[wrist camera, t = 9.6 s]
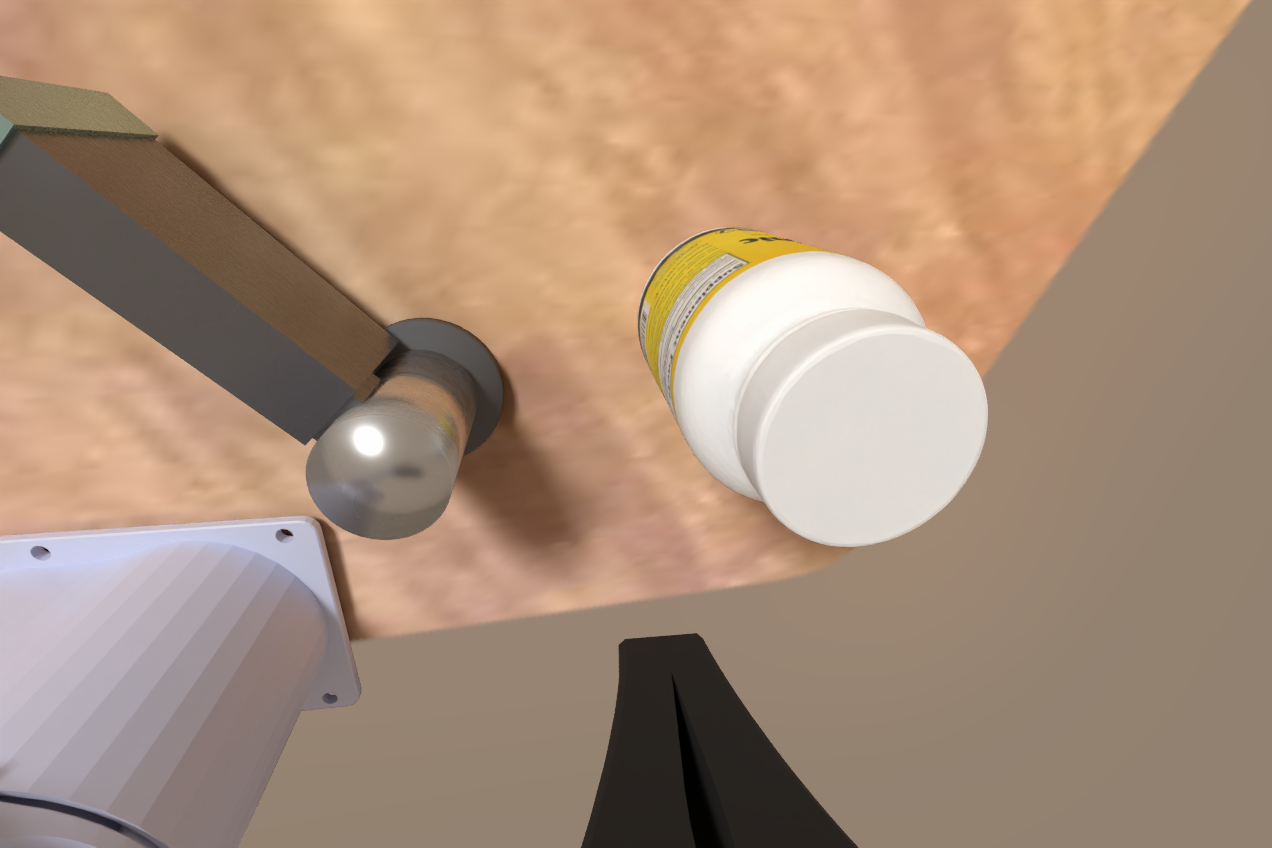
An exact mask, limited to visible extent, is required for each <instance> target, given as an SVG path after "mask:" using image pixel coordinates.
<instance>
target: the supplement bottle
mask: <svg viewBox="0 0 1272 848" xmlns="http://www.w3.org/2000/svg"><path fill="white" fill-rule="evenodd" d="M637 329H638V336H639V341H640V345H641V348H642V351H643V354H644V357H645V359H646V361H647V364H648V366H649V368H650V370H651V372H652V374H653V376H654V378H655V380H656V382H657V384H658V386H659V387H660V390H661V392H662V394H663V395H664V397H665V400H666V401H667V403H668V405H669V407H670V409H671V412H672V414H673V415H674V418H675V420H676V422H677V424H678V426H679V428H680V430H681V432H682V434H683V436H684V438H685V440H686V442H687V444H688V445H689V447H690V448H691V450H692V452H693V453H694V455H695V456H696V458H697V459H698V460H699V461H700V463H701V464H702V465H703V467H704V468H705V469H706V470H707V471H708V472H709V473H710V474H711V475H712V476H713V477H714V478H715V479H717V480H718V481H719V482H721V483H722V484H723V485H725V486H726V487H728V488H730V489H731V490H733V491H735V492H737V493H739V494H741V495H743V496H746V497H748V498H751V499H753V500H758V501H762V502H764V503H765V505H766V506H767V507H768V509H769V510H770V512H771V513H772V514H773V515H774V516H775V517H776V518H777V520H779V521H780V522H781V523H782V524H783V525H784V526H786V527H787V528H788V529H790V530H791V531H792V532H794V533H796V534H797V535H799V536H801V537H803V538H805V539H807V540H810V541H813V542H816V543H819V544H823V545H828V546H837V547H858V546H868V545H872V544H876V543H880V542H884V541H888V540H891V539H894V538H896V537H899V536H901V535H903V534H905V533H908V532H910V531H911V530H913V529H915V528H917V527H919V526H920V525H922V524H923V523H925V522H926V521H928V520H929V519H931V518H932V517H933V516H934V515H935V514H936V513H938V512H939V511H940V510H941V509H943V508H944V507H945V506H946V505H947V504H948V503H949V502H950V501H951V500H952V499H953V498H954V497H955V495H956V494H957V493H958V491H959V490H960V489H961V488H962V486H963V485H964V483H965V482H966V480H967V479H968V477H969V476H970V474H971V472H972V471H973V469H974V467H975V465H976V463H977V461H978V458H979V456H980V453H981V450H982V447H983V444H984V440H985V435H986V430H987V420H988V405H987V399H986V393H985V389H984V386H983V383H982V380H981V378H980V375H979V373H978V372H977V370H976V368H975V367H974V365H973V363H972V362H971V361H970V359H969V358H968V357H967V356H966V355H965V353H964V352H963V351H962V350H961V349H960V348H959V347H957V346H956V345H955V344H954V343H953V342H951V341H950V340H948V339H947V338H945V337H944V336H942V335H940V334H938V333H936V332H934V331H931V330H929V329H927V328H926V326H925V323H924V320H923V318H922V316H921V314H920V312H919V310H918V309H917V307H916V305H915V304H914V302H913V301H912V299H911V298H910V297H909V296H908V294H907V293H906V292H905V291H904V290H903V289H902V288H901V287H900V286H899V285H898V284H897V283H896V282H895V281H894V280H892V279H891V278H890V277H888V276H887V275H886V274H884V273H883V272H881V271H880V270H878V269H876V268H874V267H872V266H871V265H869V264H866V263H864V262H861V261H859V260H856V259H853V258H851V257H848V256H846V255H842V254H838V253H835V252H831V251H827V250H824V249H820V248H816V247H812V246H809V245H805V244H802V243H798V242H795V241H792V240H788V239H784V238H781V237H777V236H774V235H770V234H767V233H764V232H760V231H756V230H752V229H746V228H738V227H723V228H715V229H711V230H707V231H703V232H701V233H698V234H696V235H693V236H691V237H689V238H687V239H686V240H684V241H683V242H681V243H679V244H678V245H677V246H675V247H674V248H673V249H672V250H670V251H669V252H668V253H667V254H666V255H665V256H664V257H663V258H662V259H661V260H660V262H659V263H658V264H657V265H656V267H655V268H654V270H653V271H652V273H651V275H650V276H649V278H648V280H647V282H646V284H645V286H644V289H643V291H642V294H641V298H640V302H639V307H638V315H637Z"/></svg>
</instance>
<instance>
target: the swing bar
mask: <svg viewBox="0 0 1272 848" xmlns="http://www.w3.org/2000/svg"><path fill="white" fill-rule="evenodd" d="M157 137H158V134H156V133H155V132H154V131H153V130H152V129H150V128H149V127H148V126H147V125H146V124H144V123H143V122H142V121H141V120H140V119H138V118H137V117H136V116H135V115H134V114H132V113H131V112H130V111H129V110H128V109H126V108H125V107H124V106H123V105H122V104H120V103H119V102H118V101H117V100H116V99H114V98H113V97H112V96H111V95H110V94H108V93H105V92H99V91H93V90H86V89H80V88H74V87H68V86H62V85H55V84H49V83H43V82H37V81H30V80H24V79H18V78H12V77H5V76H0V231H1V232H2V233H4V234H5V235H6V236H8V237H9V238H11V239H12V240H14V241H15V242H16V243H18V244H19V245H21V246H22V247H24V248H25V249H26V250H28V251H29V252H31V253H32V254H33V255H35V256H36V257H38V258H39V259H41V260H42V261H43V262H45V263H46V264H48V265H49V266H51V267H52V268H53V269H55V270H56V271H58V272H59V273H61V274H62V275H63V276H65V277H66V278H68V279H69V280H70V281H72V282H73V283H75V284H76V285H78V286H79V287H80V288H82V289H83V290H85V291H86V292H88V293H89V294H90V295H92V296H93V297H95V298H96V299H98V300H99V301H100V302H102V303H103V304H105V305H106V306H107V307H109V308H110V309H112V310H113V311H115V312H116V313H117V314H119V315H120V316H122V317H123V318H125V319H126V320H127V321H129V322H130V323H132V324H133V325H135V326H136V327H137V328H139V329H140V330H142V331H143V332H144V333H146V334H147V335H149V336H150V337H152V338H153V339H154V340H156V341H157V342H159V343H160V344H162V345H163V346H164V347H166V348H167V349H169V350H170V351H172V352H173V353H174V354H176V355H177V356H179V357H180V358H181V359H183V360H184V361H186V362H187V363H189V364H190V365H191V366H193V367H194V368H196V369H197V370H199V371H200V372H201V373H203V374H204V375H206V376H207V377H209V378H210V379H211V380H213V381H214V382H216V383H217V384H218V385H220V386H221V387H223V388H224V389H226V390H227V391H228V392H230V393H231V394H233V395H234V396H236V397H237V398H238V399H240V400H241V401H243V402H244V403H246V404H247V405H248V406H250V407H251V408H253V409H254V410H255V411H257V412H258V413H260V414H261V415H263V416H264V417H265V418H267V419H268V420H270V421H271V422H273V423H274V424H275V425H277V426H278V427H280V428H281V429H283V430H284V431H285V432H287V433H288V434H290V435H291V436H292V437H294V438H295V439H297V440H298V441H300V442H301V443H302V444H304V445H306V444H307V443H308V442H309V441H310V440H311V439H312V438H314V439H315V440H316V441H317V442H316V444H315V445H314V447H313V448H312V450H311V452H310V455H309V457H308V460H307V465H306V481H307V486H308V489H309V492H310V495H311V497H312V499H313V501H314V502H315V504H316V506H317V507H318V508H319V509H320V511H321V512H322V513H323V514H324V515H325V516H326V517H327V518H328V519H329V520H330V521H332V522H333V523H334V524H336V525H337V526H339V527H341V528H342V529H344V530H346V531H348V532H350V533H353V534H355V535H358V536H362V537H366V538H370V539H379V540H392V539H400V538H405V537H409V536H412V535H415V534H417V533H419V532H421V531H423V530H425V529H426V528H428V527H429V526H431V525H432V524H433V523H434V522H435V521H436V520H437V519H438V518H439V517H440V516H441V515H442V513H443V512H444V510H445V509H446V507H447V504H448V502H449V499H450V496H451V493H452V490H453V486H454V483H455V480H456V477H457V473H458V470H459V467H460V464H461V460H462V457H463V454H464V451H465V447H466V444H467V441H468V438H469V434H470V431H471V428H472V424H473V421H474V418H475V415H476V411H477V405H478V403H477V392H476V389H475V386H474V383H473V381H472V379H471V378H470V376H469V374H468V373H467V372H466V371H465V370H464V368H462V367H461V366H460V365H459V364H458V363H457V362H455V361H454V360H453V359H451V358H449V357H447V356H445V355H443V354H441V353H437V352H434V351H428V350H411V351H406V352H402V353H399V354H397V355H395V356H393V357H391V358H390V359H388V360H387V361H386V362H385V363H384V364H383V365H382V366H381V367H380V368H379V369H378V370H377V372H376V373H375V374H373V373H372V372H373V371H374V370H375V369H376V367H377V366H378V365H379V364H380V363H381V362H382V361H383V359H384V358H385V357H386V356H387V355H388V354H389V352H390V351H391V350H392V349H393V348H394V347H395V346H396V344H397V343H398V342H399V341H398V340H396V339H395V338H394V337H393V336H392V335H390V334H389V333H388V332H387V331H386V330H384V329H383V328H382V327H381V326H380V325H378V324H377V323H376V322H375V321H373V320H372V319H371V318H370V317H369V316H367V315H366V314H365V313H364V312H363V311H361V310H360V309H359V308H358V307H357V306H355V305H354V304H353V303H352V302H351V301H349V300H348V299H347V298H346V297H345V296H343V295H342V294H341V293H340V292H338V291H337V290H336V289H335V288H334V287H332V286H331V285H330V284H329V283H328V282H326V281H325V280H324V279H323V278H322V277H320V276H319V275H318V274H317V273H316V272H314V271H313V270H312V269H311V268H310V267H308V266H307V265H306V264H305V263H303V262H302V261H301V260H300V259H299V258H297V257H296V256H295V255H294V254H293V253H291V252H290V251H289V250H288V249H287V248H285V247H284V246H283V245H282V244H281V243H279V242H278V241H277V240H276V239H275V238H273V237H272V236H271V235H270V234H268V233H267V232H266V231H265V230H264V229H262V228H261V227H260V226H259V225H258V224H256V223H255V222H254V221H253V220H252V219H250V218H249V217H248V216H247V215H246V214H244V213H243V212H242V211H241V210H240V209H238V208H237V207H236V206H235V205H233V204H232V203H231V202H230V201H229V200H227V199H226V198H225V197H224V196H223V195H221V194H220V193H219V192H218V191H217V190H215V189H214V188H213V187H212V186H211V185H209V184H208V183H207V182H206V181H205V180H203V179H202V178H201V177H200V176H198V175H197V174H196V173H195V172H194V171H192V170H191V169H190V168H189V167H188V166H186V165H185V164H184V163H183V162H182V161H180V160H179V159H178V158H177V157H176V156H174V155H173V154H172V153H171V152H170V151H168V150H167V149H166V148H165V147H164V146H162V145H161V144H160V143H159V142H157V141H156V140H155V139H156V138H157Z"/></svg>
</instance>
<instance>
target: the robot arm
mask: <svg viewBox="0 0 1272 848" xmlns="http://www.w3.org/2000/svg"><path fill="white" fill-rule="evenodd" d="M281 529H287V530H289V531H290V532H292V534H293V536H287V535H285V534H283V533H282V531H281ZM41 546H42V547H44V548H46V549H48V550H49V552H47V551H45V550H44V549H43V548H42V547H41ZM328 693H333V694H335V695H330V694H328ZM360 694H361V685H360V681H359V677H358V673H357V669H356V665H355V661H354V657H353V653H352V649H351V645H350V641H349V636H348V632H347V628H346V624H345V620H344V616H343V612H342V608H341V604H340V600H339V596H338V592H337V588H336V584H335V580H334V576H333V572H332V568H331V564H330V560H329V556H328V552H327V548H326V544H325V540H324V536H323V532H322V528H321V526H320V524H319V522H317V521H316V520H315V519H314V518H311V517H309V516H288V517H273V518H258V519H243V520H229V521H214V522H199V523H184V524H169V525H154V526H139V527H124V528H109V529H95V530H80V531H65V532H50V533H35V534H20V535H6V536H2V537H0V848H238V846H239V844H240V842H241V839H242V838H243V835H244V833H245V831H246V829H247V827H248V825H249V823H250V820H251V818H252V816H253V814H254V812H255V809H256V807H257V805H258V803H259V801H260V799H261V796H262V794H263V792H264V790H265V788H266V786H267V783H268V781H269V779H270V777H271V775H272V773H273V770H274V768H275V766H276V764H277V762H278V760H279V757H280V755H281V753H282V751H283V749H284V746H285V744H286V742H287V740H288V738H289V736H290V733H291V731H292V729H293V727H294V725H295V723H296V720H297V718H298V716H299V714H300V712H301V711H302V710H313V709H322V708H332V707H342V706H349V705H353V704H354V703H356V702H357V701H358V699H359V697H360ZM581 848H858V847H857V846H856V844H855V843H854V842H853V841H852V840H851V839H850V838H849V837H848V836H847V835H846V834H845V833H844V831H843V830H842V829H841V828H840V827H839V826H838V825H837V824H836V822H835V821H834V820H833V819H832V818H831V817H830V815H829V814H828V813H827V812H826V811H825V810H824V808H823V807H822V806H821V805H820V804H819V802H818V801H817V800H816V799H815V798H814V797H813V795H812V794H811V793H810V792H809V790H808V789H807V788H806V787H805V786H804V784H803V783H802V782H801V781H800V779H799V778H798V777H797V776H796V774H795V773H794V772H793V771H792V770H791V768H790V767H789V766H788V765H787V763H786V762H785V761H784V759H783V758H782V757H781V755H780V754H779V753H778V752H777V750H776V749H775V748H774V746H773V745H772V743H771V742H770V741H769V739H768V738H767V737H766V735H765V734H764V732H763V731H762V730H761V728H760V727H759V726H758V724H757V723H756V721H755V720H754V719H753V717H752V716H751V715H750V713H749V712H748V710H747V709H746V707H745V706H744V704H743V703H742V702H741V700H740V699H739V697H738V696H737V694H736V693H735V691H734V690H733V688H732V686H731V685H730V683H729V682H728V680H727V679H726V677H725V676H724V674H723V672H722V671H721V669H720V668H719V666H718V664H717V663H716V661H715V659H714V658H713V656H712V654H711V652H710V651H709V649H708V647H707V645H706V644H705V642H704V640H703V638H701V637H700V636H699V635H698V634H697V633H695V634H683V635H671V636H658V637H646V638H633V639H625V640H624V641H623V642H622V643H620V644H619V685H618V693H617V701H616V708H615V714H614V719H613V725H612V730H611V735H610V740H609V745H608V751H607V755H606V759H605V764H604V768H603V772H602V775H601V779H600V783H599V787H598V790H597V794H596V798H595V802H594V806H593V809H592V813H591V817H590V820H589V823H588V827H587V830H586V833H585V837H584V840H583V843H582V846H581Z"/></svg>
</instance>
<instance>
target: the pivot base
mask: <svg viewBox="0 0 1272 848" xmlns="http://www.w3.org/2000/svg"><path fill="white" fill-rule="evenodd" d="M384 330H386V331H387V332H388V333H389V334H390V335H392V336H393V337H394V338H395V339H396V340H398V341H399V342H398V343H397V344H396V346H395V347H394V348H393V349H392V350H391V351H390V352H389V354H388V355H387V356H386V357H385V358H384V359H383V361H382V362H381V363H380V364H379V365H378V366H377V367H376V369H375V370H374V371H373V372H372V373H373V374H375V373H376V372H377V370H378V369H379V368H380V367H381V366H382V365H383V364H384V363H385V362H386V361H387V360H388V359H390V358H391V357H393V356H395V355H397V354H399V353H402V352H406V351H411V350H428V351H434V352H437V353H441V354H443V355H445V356H447V357H449V358H451V359H453V360H454V361H455V362H457V363H458V364H459V365H460V366H461V367H462V368H464V370H465V371H466V372H467V373H468V374H469V376H470V378H471V379H472V381H473V383H474V386H475V389H476V392H477V403H478V405H477V411H476V415H475V418H474V421H473V424H472V428H471V431H470V434H469V438H468V441H467V444H466V447H465V451H464V454H463V456H464V455H466V454H468V453H470V452H471V451H473V450H474V449H476V448H477V447H479V446H480V445H481V444H482V443H483V442H484V441H485V440H486V439H487V438H488V437H489V436H490V434H491V433H492V431H493V430H494V428H495V427H496V424H497V422H498V420H499V417H500V413H501V409H502V405H503V398H504V385H503V379H502V375H501V371H500V368H499V366H498V364H497V362H496V360H495V358H494V357H493V355H492V353H491V352H490V351H489V349H488V348H487V347H486V346H485V345H484V344H483V343H482V342H481V341H480V340H479V339H478V338H477V337H476V336H474V335H473V334H472V333H470V332H469V331H467V330H465V329H463V328H462V327H460V326H458V325H455V324H453V323H450V322H447V321H443V320H439V319H432V318H414V319H407V320H403V321H399V322H397V323H394V324H391V325H389V326H387V327H386V328H384Z"/></svg>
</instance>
